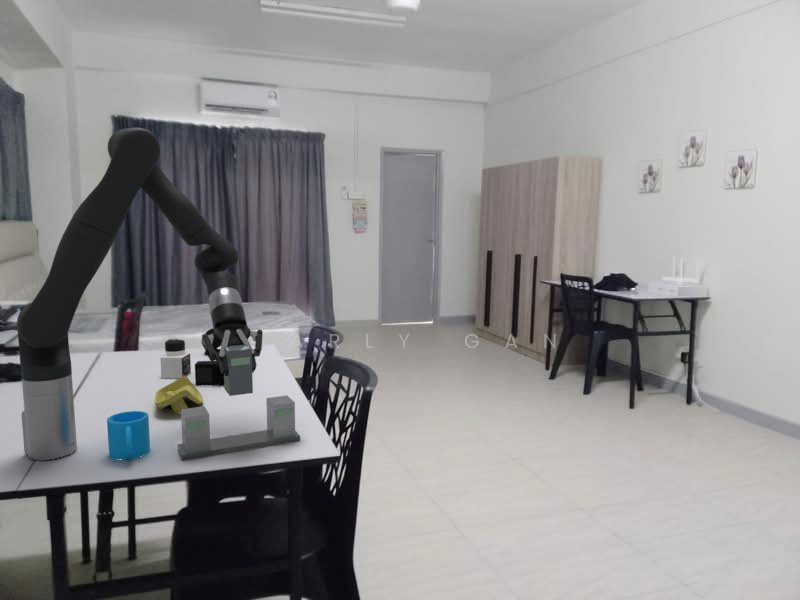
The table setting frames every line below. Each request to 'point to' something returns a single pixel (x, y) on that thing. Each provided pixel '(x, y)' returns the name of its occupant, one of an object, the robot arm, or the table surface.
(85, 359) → the table surface
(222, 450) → the rail
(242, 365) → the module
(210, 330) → the webcam
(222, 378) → the digital camera
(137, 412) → the mug
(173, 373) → the medicine bottle
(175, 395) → the plastic component
